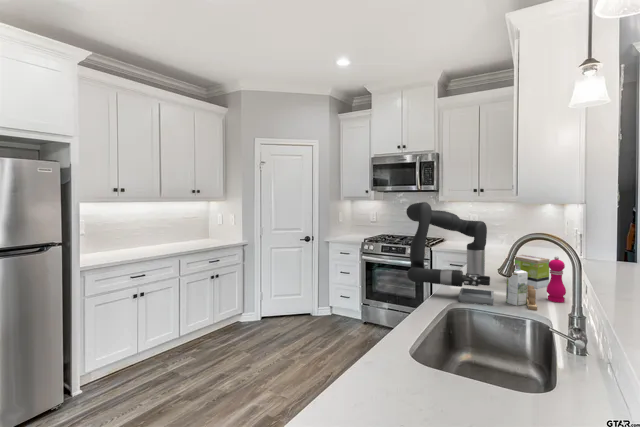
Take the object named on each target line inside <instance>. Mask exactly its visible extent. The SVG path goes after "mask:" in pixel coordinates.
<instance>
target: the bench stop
mask: <svg viewBox="0 0 640 427" xmlns="http://www.w3.org/2000/svg"><path fill="white" fill-rule="evenodd" d="M536 293H537V290H536V289H535V288H534V286H531V285H528V286H527V304H526V305H527V309H528V310H529V309H530V310H529V311H538V306H537V302H536Z"/></svg>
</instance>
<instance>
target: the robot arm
mask: <svg viewBox="0 0 640 427" xmlns="http://www.w3.org/2000/svg"><path fill="white" fill-rule="evenodd" d="M406 216H407V218H409V220H411V221H413V222H418V225H417V230H416V232H415V234H414V236H413V238H412V241H411V243H410V249H409V261H410V268H409V269H408V270H407V272H406V274H407V275H406V276H407V278H408V280H410V281H411V282H412V283H413V282H414V283H429V284H435V285H442V286H447V287H449V286H450V287H460V288H463V285H464V286H471V287H479V286H487V287H488V286H489V287H490V284H491V282H490V281H491V277H490V276H487V275H485V274H486V273H485V272H486V270H485V267H486V266H485V265H486V263H485V262H486V258H485V257H486V256H485V254H486V250H485V248H486V245H487V235H488V228H487V223H485V221H482V220H467V219H462V218H460V217H459V216H458V215H457V214H455V213H453V212H449V211H446V210H437V209H436V210H435V209H434V210H432V206H431V204H429V202H427V201H421V202H416V203H415V202H414V203H411V204H410V205H409V206H408V207H407V208H406ZM430 226H434V227H438V228H439V229H443V230H446V231H450V232H458V233H461V234H463V235H465V236H466V237H469V238H470V237H471V238H473V241H472V242H469V243H467V244H466V273H465V274H464V272H463V270H461V269H444V268H443V269H442V268H441V269H440V268H438V269H437V268H425V253H426V252H425V251H426V241H427V238H428V237H427V236H428V232H429V227H430Z"/></svg>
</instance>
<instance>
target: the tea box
mask: <svg viewBox="0 0 640 427" xmlns="http://www.w3.org/2000/svg"><path fill="white" fill-rule="evenodd" d="M515 256H516V258H515V266H516V269H515V270H523V271H526V272H528V278H527V287H528V285H531V286H534V289H535V290H536V289H543V288H547V286H548V284H549V282H550V268H549V262H550V258H545V257H541V256H540V257H539V256H533V255H527V254H517V255H515Z"/></svg>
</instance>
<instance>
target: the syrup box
mask: <svg viewBox="0 0 640 427" xmlns="http://www.w3.org/2000/svg"><path fill="white" fill-rule="evenodd" d="M527 278H528V272H526V271H523V270H515V271H514V273H513V275H512V277H511V278H507V277H506V294H505V296H506V297H505V298H506V299H505V300H506V301H505V302H506V303H507V304H509V305H513V306H517V307H518V306H525V305H527V287H528V286H527Z"/></svg>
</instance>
